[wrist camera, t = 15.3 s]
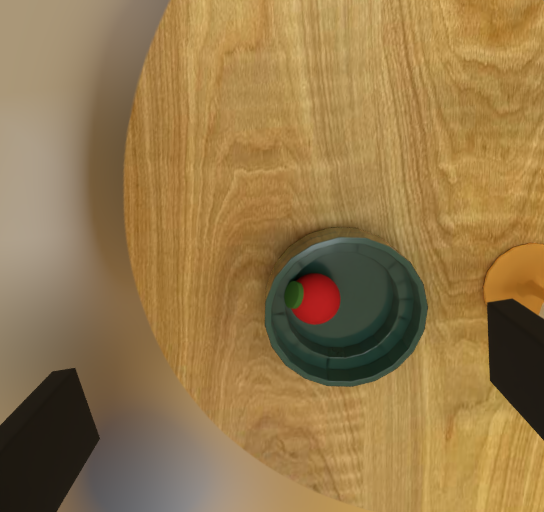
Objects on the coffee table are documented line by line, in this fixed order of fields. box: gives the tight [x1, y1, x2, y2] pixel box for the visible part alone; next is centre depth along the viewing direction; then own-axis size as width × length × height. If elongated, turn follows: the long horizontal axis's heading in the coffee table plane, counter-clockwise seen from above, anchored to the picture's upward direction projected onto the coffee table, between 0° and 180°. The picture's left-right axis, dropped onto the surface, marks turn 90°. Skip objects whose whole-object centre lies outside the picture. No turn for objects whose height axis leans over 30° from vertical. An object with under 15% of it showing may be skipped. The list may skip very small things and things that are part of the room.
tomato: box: [284, 273, 340, 325], centre depth 39 cm, size 5×5×5 cm
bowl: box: [265, 227, 428, 387], centre depth 40 cm, size 15×15×5 cm
